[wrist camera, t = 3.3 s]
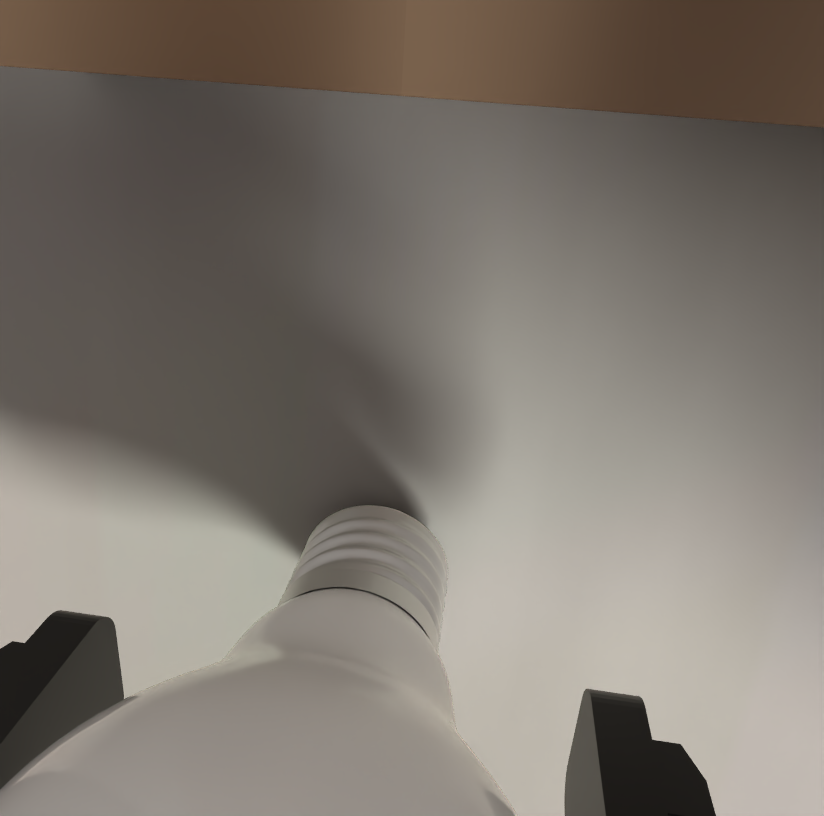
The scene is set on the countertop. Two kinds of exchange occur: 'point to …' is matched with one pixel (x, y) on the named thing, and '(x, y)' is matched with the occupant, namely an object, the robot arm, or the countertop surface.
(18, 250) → the countertop surface
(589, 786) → the robot arm
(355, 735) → the lightbulb
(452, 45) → the holder block
